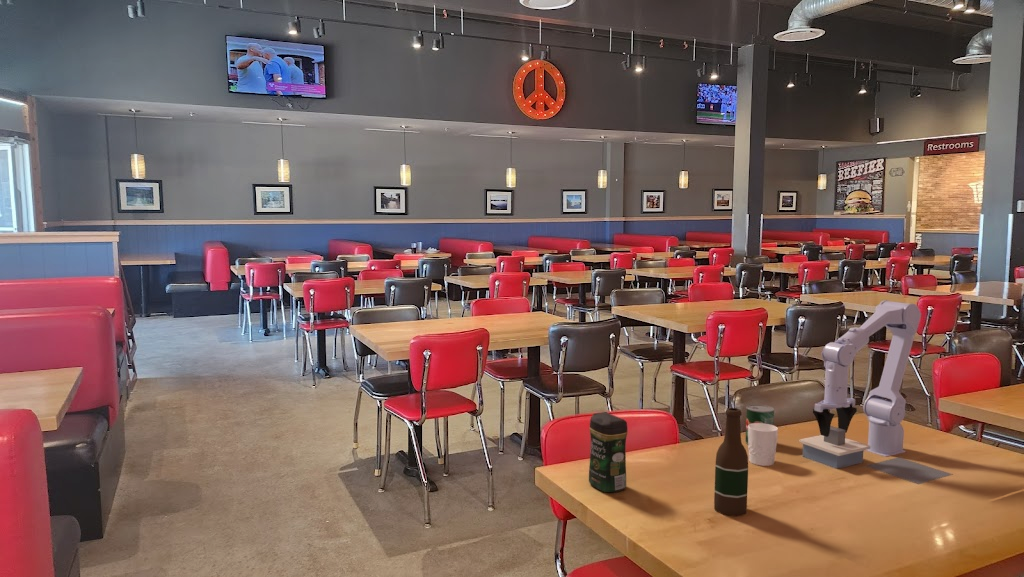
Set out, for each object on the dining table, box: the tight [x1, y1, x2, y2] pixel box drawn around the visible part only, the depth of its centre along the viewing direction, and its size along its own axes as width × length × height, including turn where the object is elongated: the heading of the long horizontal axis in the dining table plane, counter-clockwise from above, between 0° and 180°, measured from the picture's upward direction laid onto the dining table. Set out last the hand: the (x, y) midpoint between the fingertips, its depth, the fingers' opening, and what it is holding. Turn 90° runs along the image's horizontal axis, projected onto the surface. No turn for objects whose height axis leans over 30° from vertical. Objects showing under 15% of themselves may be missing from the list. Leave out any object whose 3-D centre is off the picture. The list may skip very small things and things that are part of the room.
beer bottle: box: [713, 407, 749, 517], centre depth 163 cm, size 8×8×24 cm
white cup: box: [747, 423, 779, 467], centre depth 196 cm, size 8×8×10 cm
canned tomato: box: [744, 404, 775, 445], centre depth 212 cm, size 8×8×11 cm
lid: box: [798, 425, 870, 456], centre depth 197 cm, size 13×13×5 cm
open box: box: [802, 444, 865, 470], centre depth 198 cm, size 11×11×4 cm
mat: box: [865, 457, 953, 485], centre depth 190 cm, size 15×15×1 cm
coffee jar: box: [588, 411, 628, 493], centre depth 177 cm, size 10×8×19 cm
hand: (833, 433), depth 197 cm, fingers open, 7 cm apart
